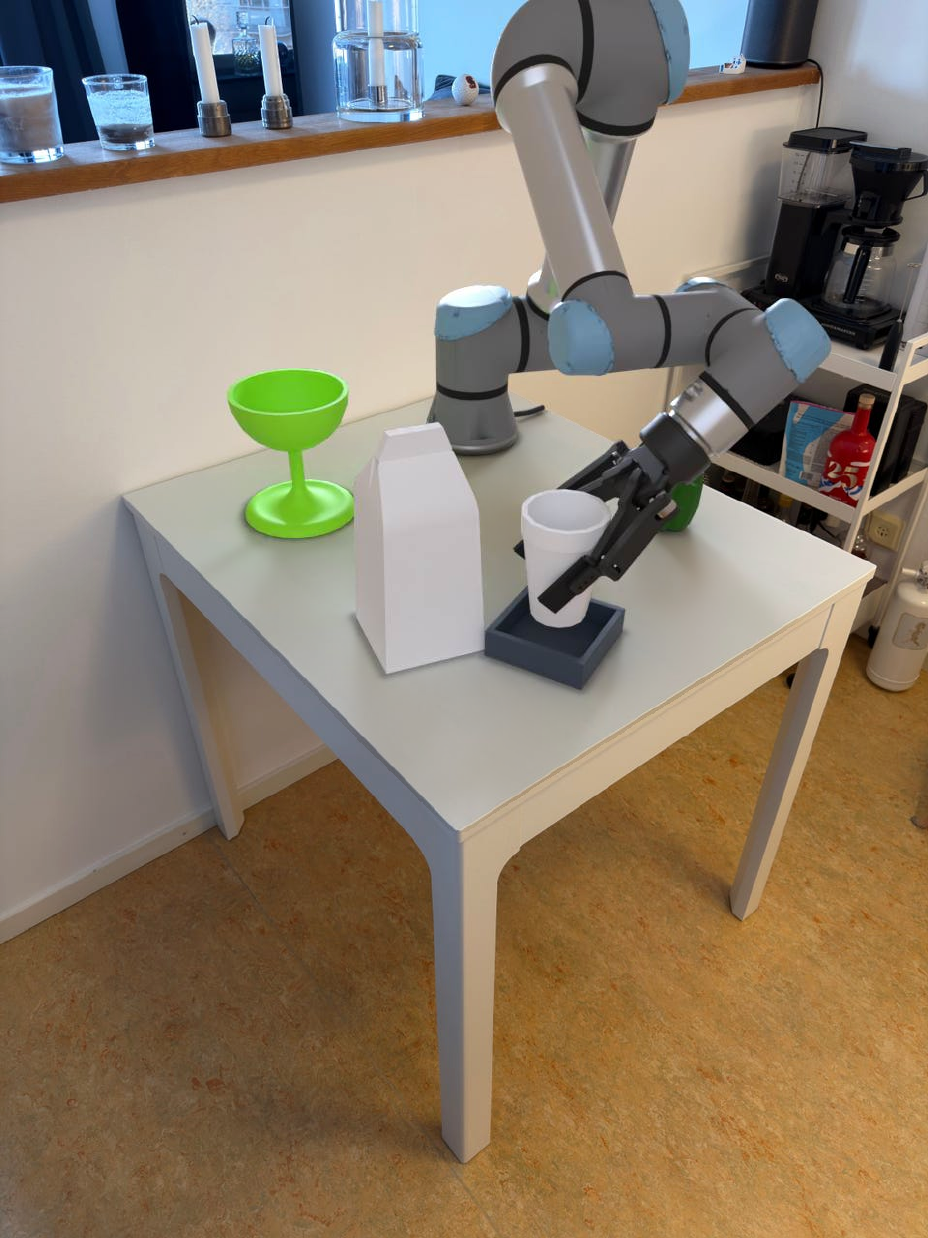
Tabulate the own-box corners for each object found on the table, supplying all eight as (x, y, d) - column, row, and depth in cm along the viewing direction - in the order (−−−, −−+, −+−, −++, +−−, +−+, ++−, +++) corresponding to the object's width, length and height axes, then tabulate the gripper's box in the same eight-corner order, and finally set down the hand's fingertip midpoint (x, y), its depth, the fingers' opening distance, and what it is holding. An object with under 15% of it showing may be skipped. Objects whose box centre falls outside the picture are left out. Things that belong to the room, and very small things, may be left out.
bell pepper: (682, 545, 122) (694, 479, 116) (627, 528, 126) (636, 463, 120) (704, 519, 128) (717, 455, 122) (651, 503, 132) (660, 441, 126)
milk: (386, 674, 100) (374, 462, 85) (356, 617, 109) (340, 415, 93) (484, 649, 104) (491, 442, 88) (448, 596, 112) (447, 399, 97)
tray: (531, 602, 111) (532, 579, 109) (622, 632, 107) (625, 608, 105) (484, 655, 103) (484, 630, 101) (581, 690, 98) (583, 665, 96)
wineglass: (298, 551, 120) (283, 426, 110) (221, 512, 128) (201, 393, 118) (380, 505, 131) (373, 387, 120) (304, 473, 139) (292, 359, 128)
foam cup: (538, 579, 107) (544, 482, 99) (611, 600, 104) (623, 501, 96) (502, 620, 100) (506, 519, 93) (579, 645, 97) (590, 542, 89)
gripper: (630, 371, 99) (487, 512, 105) (717, 460, 81) (539, 622, 88) (668, 413, 103) (528, 546, 109) (759, 506, 85) (585, 657, 92)
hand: (533, 580), depth 99 cm, fingers closed on foam cup, 9 cm apart
